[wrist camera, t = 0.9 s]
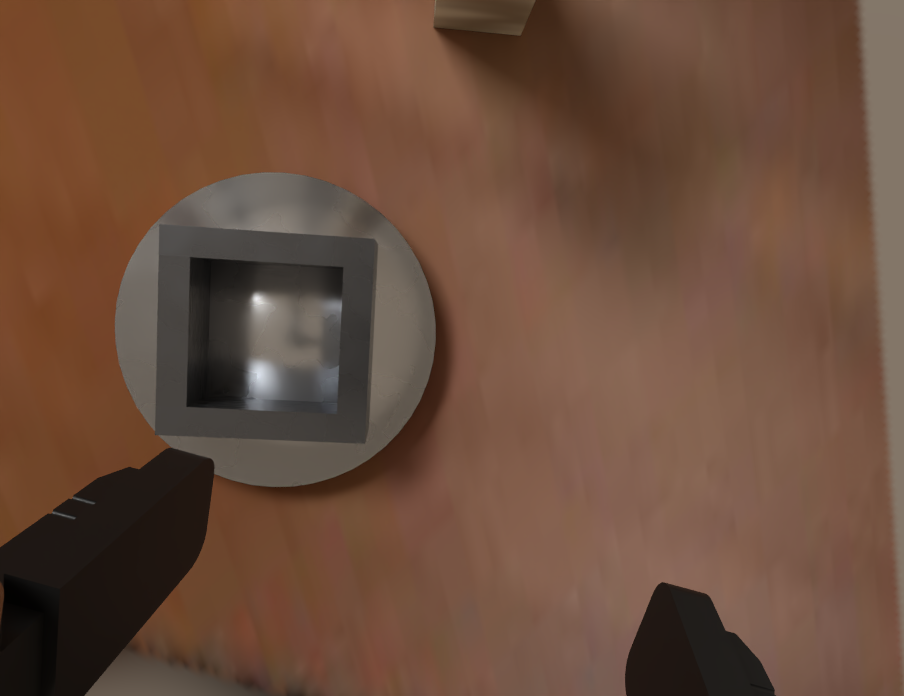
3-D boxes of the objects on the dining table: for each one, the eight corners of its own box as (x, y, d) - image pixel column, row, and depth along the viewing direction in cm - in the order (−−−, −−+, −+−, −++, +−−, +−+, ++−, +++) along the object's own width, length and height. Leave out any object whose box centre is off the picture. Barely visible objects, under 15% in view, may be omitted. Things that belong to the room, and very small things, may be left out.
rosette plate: (125, 473, 28) (81, 500, 24) (130, 166, 27) (85, 145, 23) (426, 484, 29) (428, 511, 25) (443, 189, 28) (448, 173, 24)
